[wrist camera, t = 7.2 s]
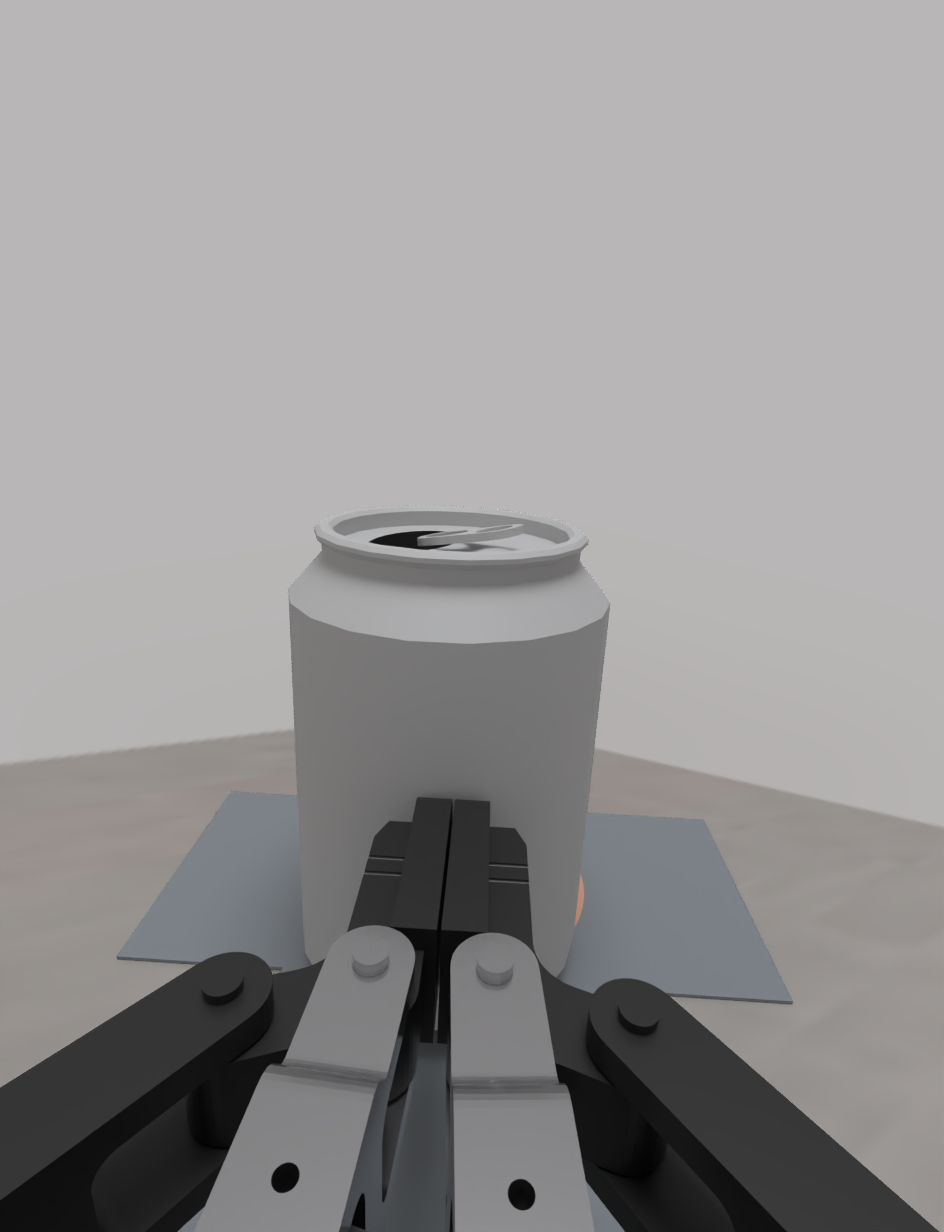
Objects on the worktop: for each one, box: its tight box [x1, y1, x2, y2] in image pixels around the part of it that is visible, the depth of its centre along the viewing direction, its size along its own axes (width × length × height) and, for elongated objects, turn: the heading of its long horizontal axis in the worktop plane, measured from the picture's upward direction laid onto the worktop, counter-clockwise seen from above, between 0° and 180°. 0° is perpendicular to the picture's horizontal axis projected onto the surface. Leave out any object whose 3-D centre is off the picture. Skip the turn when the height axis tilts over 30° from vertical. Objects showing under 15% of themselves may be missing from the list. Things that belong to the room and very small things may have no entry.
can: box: [288, 506, 610, 1030], centre depth 17 cm, size 8×8×12 cm
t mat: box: [117, 792, 793, 1232], centre depth 17 cm, size 18×18×1 cm
